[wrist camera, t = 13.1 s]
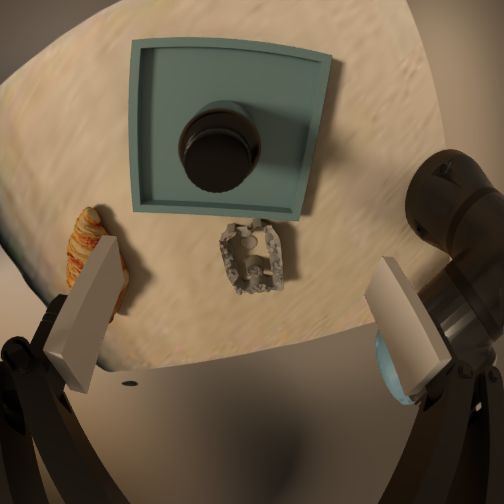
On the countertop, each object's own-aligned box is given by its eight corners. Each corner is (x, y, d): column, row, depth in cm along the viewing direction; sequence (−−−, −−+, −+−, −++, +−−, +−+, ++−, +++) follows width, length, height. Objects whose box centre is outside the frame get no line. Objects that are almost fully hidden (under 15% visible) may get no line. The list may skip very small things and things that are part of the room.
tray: (325, 55, 25) (332, 55, 23) (295, 212, 37) (298, 221, 35) (138, 41, 22) (132, 40, 21) (137, 203, 34) (133, 211, 32)
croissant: (84, 190, 36) (40, 212, 29) (130, 208, 33) (82, 237, 27) (103, 297, 48) (73, 323, 41) (143, 322, 45) (113, 353, 39)
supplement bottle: (260, 104, 27) (277, 124, 18) (248, 162, 31) (258, 213, 22) (194, 95, 26) (173, 110, 17) (187, 155, 30) (166, 202, 21)
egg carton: (217, 222, 37) (216, 239, 34) (275, 213, 37) (280, 230, 34) (231, 282, 43) (232, 302, 40) (281, 275, 43) (285, 294, 40)
